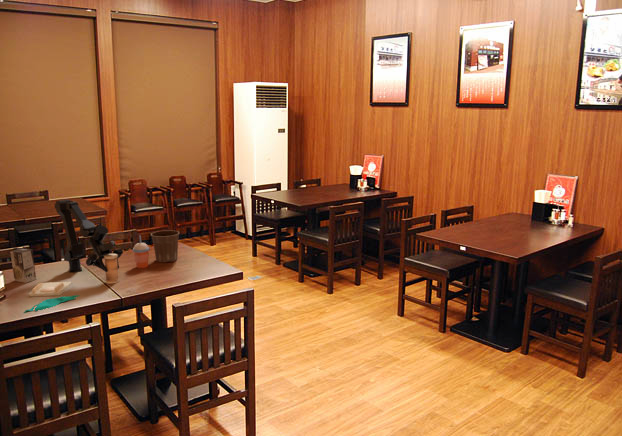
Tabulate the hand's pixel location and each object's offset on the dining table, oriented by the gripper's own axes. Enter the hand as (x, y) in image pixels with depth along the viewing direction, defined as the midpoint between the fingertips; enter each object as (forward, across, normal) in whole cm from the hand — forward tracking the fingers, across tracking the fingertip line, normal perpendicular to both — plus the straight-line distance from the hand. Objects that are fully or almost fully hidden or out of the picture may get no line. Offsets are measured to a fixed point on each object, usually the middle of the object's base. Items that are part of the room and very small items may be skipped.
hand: (112, 270), depth 259 cm
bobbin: (+4, 0, +6) cm, 7 cm away
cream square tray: (-6, -24, +16) cm, 30 cm away
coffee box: (-24, -24, +34) cm, 48 cm away
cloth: (+7, -33, +4) cm, 34 cm away
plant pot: (-2, +42, +12) cm, 43 cm away
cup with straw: (-3, +25, +12) cm, 28 cm away
